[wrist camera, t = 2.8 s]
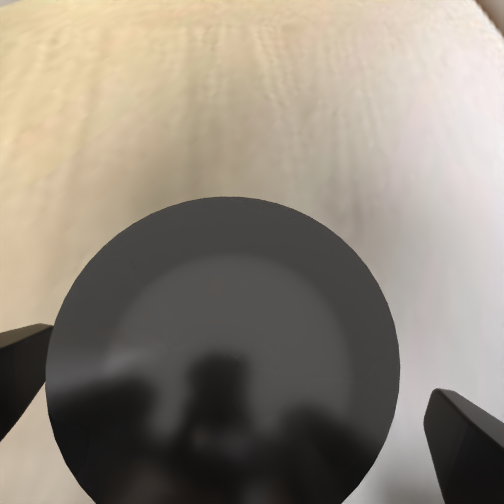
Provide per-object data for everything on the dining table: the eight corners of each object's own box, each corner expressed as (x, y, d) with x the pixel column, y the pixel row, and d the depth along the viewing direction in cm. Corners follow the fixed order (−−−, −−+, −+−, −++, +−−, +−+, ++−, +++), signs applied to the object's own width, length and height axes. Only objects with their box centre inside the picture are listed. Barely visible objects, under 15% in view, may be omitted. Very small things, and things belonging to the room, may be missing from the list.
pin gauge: (303, 430, 15) (470, 349, 4) (230, 505, 14) (188, 689, 3) (242, 358, 17) (244, 155, 6) (171, 420, 15) (-16, 314, 4)
